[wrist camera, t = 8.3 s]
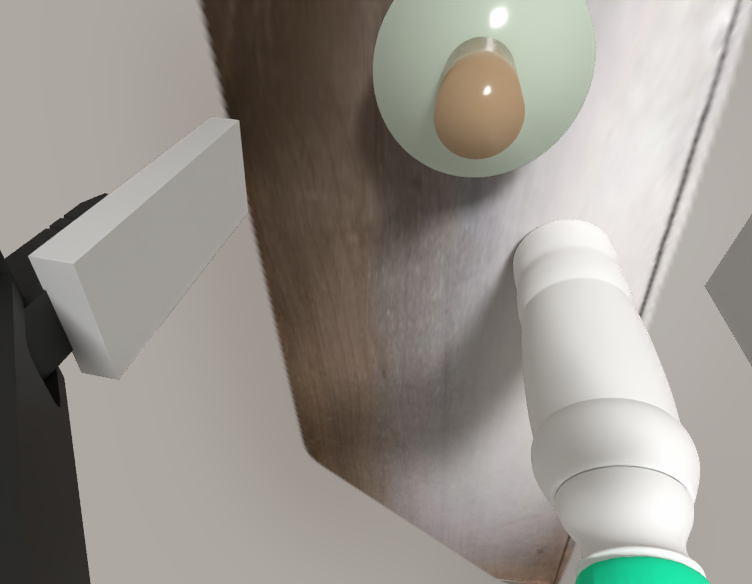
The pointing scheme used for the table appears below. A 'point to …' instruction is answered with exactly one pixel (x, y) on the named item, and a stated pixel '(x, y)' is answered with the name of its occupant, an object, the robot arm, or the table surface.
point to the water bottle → (602, 412)
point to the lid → (482, 79)
